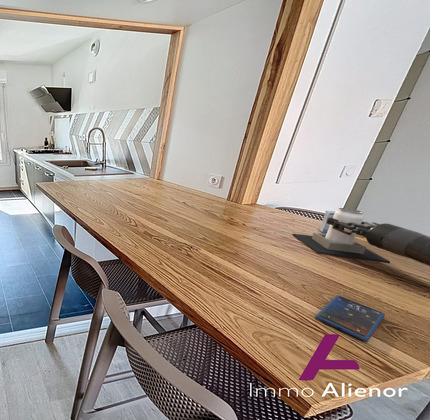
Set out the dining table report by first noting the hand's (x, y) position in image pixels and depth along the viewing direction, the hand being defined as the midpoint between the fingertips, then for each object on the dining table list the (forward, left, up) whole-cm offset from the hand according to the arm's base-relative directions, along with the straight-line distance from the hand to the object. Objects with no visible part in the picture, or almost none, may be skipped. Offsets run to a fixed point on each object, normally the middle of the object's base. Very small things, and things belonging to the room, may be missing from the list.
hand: (338, 220), depth 86 cm
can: (-1, +2, -8) cm, 8 cm away
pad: (-1, +2, -9) cm, 10 cm away
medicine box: (-9, -14, -10) cm, 19 cm away
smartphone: (+20, +46, -9) cm, 51 cm away
